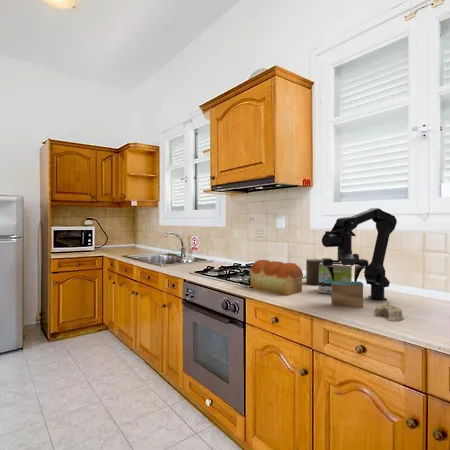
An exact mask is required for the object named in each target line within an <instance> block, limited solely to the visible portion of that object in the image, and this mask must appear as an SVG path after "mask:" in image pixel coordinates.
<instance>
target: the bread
mask: <svg viewBox="0 0 450 450" xmlns="http://www.w3.org/2000/svg"><path fill="white" fill-rule="evenodd" d="M249 270H250V271H249V275H250V288H251V287H253V288H256V289H255V290H258V289H260V291H263V290H265V291H264V292H268V291H269V293H273V292H274V293H273V294H278V293H279V295H284V296H293V295H295V294H300V293H302V292H303V278H304V275H303V269H301V267H300V265H298V264H296V263H293V262H282V261H275V260H273V261H270V260H268V259H260V260H256V261H255V262H254V263H253V264H252V266H251V267H250V268H249ZM253 288H252V289H253Z"/></svg>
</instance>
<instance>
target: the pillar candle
mask: <svg viewBox="0 0 450 450" xmlns="http://www.w3.org/2000/svg"><path fill="white" fill-rule="evenodd" d="M305 261H306V264H305V265H306V267H305V268H306V269H305V271H306V274H305V275H306V276H305V279H306V280H305V282H306V284H307V285H312V286H318V284H319V264H320V263H321V262H322V258H321V259H320V258H319V259H317V258H308V259H306V260H305Z"/></svg>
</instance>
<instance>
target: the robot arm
mask: <svg viewBox="0 0 450 450" xmlns="http://www.w3.org/2000/svg"><path fill="white" fill-rule="evenodd" d="M370 220H371V221H372V222H374V223H375V229H376V231H377V235H376V239H375V245H374V249H373V253H372V258H371V262H370V263H369V260H367V259H365V258H360V255H359V253H353V249H352V246H353V245H352V238H353V237H356V236H357V235H356V234H355V232H353V231H354V230H355V229H357V228H358V226H359V225H360V224H363V223H365V222H367V221H370ZM397 223H398V220H397V218H396V216H395V215H393V214H391V213H388V212H386V211H384V210H382V209H381V208H379V207H375V208H374V207H373V208H372V207H371V208H369V209H366V210H365V211H362V212H359V213H357V214H354V215H352V216H345V217H339V218H337V219H336V221H335V223H334V225H333V227H332V228H331V230H329V231H328V230H327V231H326V230H325V231H324V234H323V236H322V238H321V244H322V246H323V247H324V248H335V247H336V248H337V259H333V258H330V257H329V258H328V257H323V258H321V260H322V265H323V266H325V267H326V268H328V270H329V272H330V275H331V278H332V281H334V272H333V266H332V265H333V264H342V265H351V266H352V267H353V266H354V275H353V276H354V278H353V279H354V281H353V282H358V278H359V276H360V273H361V272H362V271H363V269H364V271H363V273H364V275H363V276H364V277H363V278H364V279H365V282H366V284H367V285H370V295H367V297H368V298H369V299H371V300H373V301H375V300H377V301H378V300H379V301H387V300H388V299H387V298H386V297H385V288H387V287H389V286H390V283H391V282H390V280H389V279H388V277H387V276H386V268H385V266H384V263H385V257H386V253H387V249H388V244H389V243H388V242H389V240H390V239H389V238H390V235H391V234H392V233H393V232H394V231H395V228H396V226H397Z"/></svg>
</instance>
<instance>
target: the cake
mask: <svg viewBox="0 0 450 450" xmlns="http://www.w3.org/2000/svg"><path fill="white" fill-rule="evenodd" d="M373 313H374V314H373V315H374V317H376V315H380V317H385V316H386V318H387V317H388V319H387V321H392V320H400V321H402V320H404V316H403V312H402V309H401V308H400V307H399V306H396V305H393V304H392V305H391V304H390V303H387V304H380V305H376V306H375V309H374V312H373Z"/></svg>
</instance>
